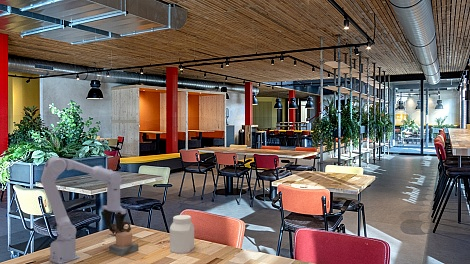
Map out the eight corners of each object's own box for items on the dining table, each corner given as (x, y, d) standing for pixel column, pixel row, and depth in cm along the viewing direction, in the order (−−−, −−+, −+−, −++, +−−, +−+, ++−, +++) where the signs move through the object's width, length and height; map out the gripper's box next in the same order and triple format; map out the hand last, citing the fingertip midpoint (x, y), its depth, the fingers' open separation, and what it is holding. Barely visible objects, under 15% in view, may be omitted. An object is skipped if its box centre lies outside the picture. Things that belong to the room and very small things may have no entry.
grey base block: (122, 257, 161) (121, 249, 161) (109, 253, 166) (109, 245, 166) (138, 251, 168) (138, 244, 168) (125, 247, 174) (125, 240, 173)
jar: (187, 254, 164) (187, 220, 163) (167, 252, 166) (167, 219, 166) (196, 246, 175) (196, 214, 175) (177, 244, 177) (177, 213, 177)
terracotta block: (122, 247, 164) (122, 236, 164) (115, 244, 167) (115, 233, 167) (131, 244, 168) (131, 233, 168) (125, 242, 171) (125, 231, 171)
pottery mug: (131, 232, 198) (134, 221, 195) (126, 245, 190) (128, 233, 186) (109, 227, 197) (111, 216, 193) (103, 240, 189) (105, 228, 185)
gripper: (131, 198, 168) (131, 227, 168) (110, 195, 176) (110, 223, 177) (118, 201, 162) (118, 231, 163) (98, 197, 170) (98, 226, 171)
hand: (113, 227), depth 169 cm, fingers open, 7 cm apart
